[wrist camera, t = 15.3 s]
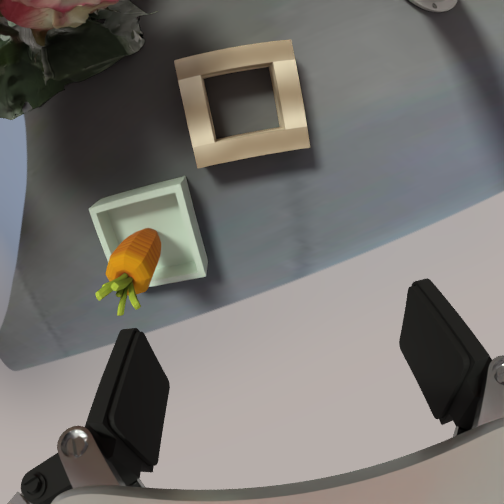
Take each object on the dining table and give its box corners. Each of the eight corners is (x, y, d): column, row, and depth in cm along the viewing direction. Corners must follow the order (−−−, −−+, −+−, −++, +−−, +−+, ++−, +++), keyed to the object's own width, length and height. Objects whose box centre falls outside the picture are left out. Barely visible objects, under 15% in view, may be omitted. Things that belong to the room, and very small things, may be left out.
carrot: (180, 232, 38) (152, 306, 24) (154, 256, 39) (119, 333, 25) (152, 204, 36) (106, 265, 22) (127, 230, 37) (77, 298, 24)
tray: (100, 198, 36) (88, 208, 32) (185, 175, 36) (180, 183, 32) (129, 276, 41) (121, 291, 37) (208, 261, 41) (206, 276, 37)
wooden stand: (180, 65, 30) (173, 60, 26) (284, 46, 29) (291, 39, 26) (201, 162, 35) (197, 168, 31) (302, 143, 35) (310, 147, 31)
